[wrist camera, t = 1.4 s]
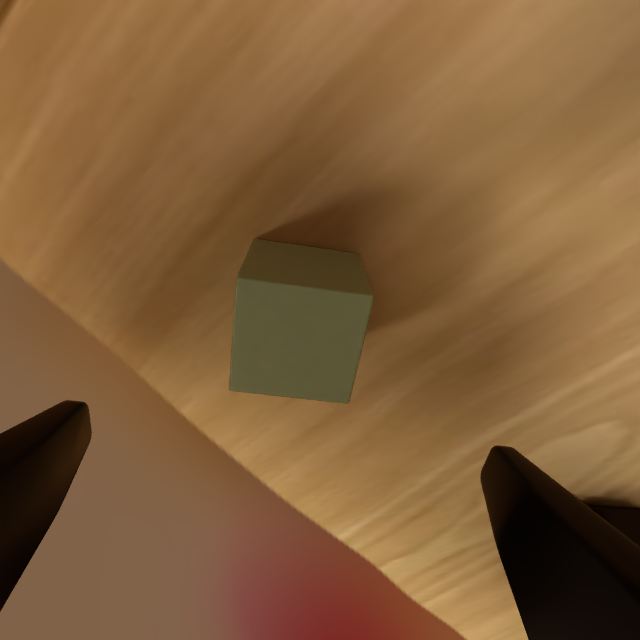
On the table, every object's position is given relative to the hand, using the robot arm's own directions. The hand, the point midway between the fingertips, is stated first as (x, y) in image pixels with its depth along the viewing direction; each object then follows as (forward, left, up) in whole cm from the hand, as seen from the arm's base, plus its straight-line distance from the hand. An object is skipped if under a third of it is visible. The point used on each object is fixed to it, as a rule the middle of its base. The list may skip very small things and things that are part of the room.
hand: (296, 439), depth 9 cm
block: (0, 0, -8) cm, 8 cm away
